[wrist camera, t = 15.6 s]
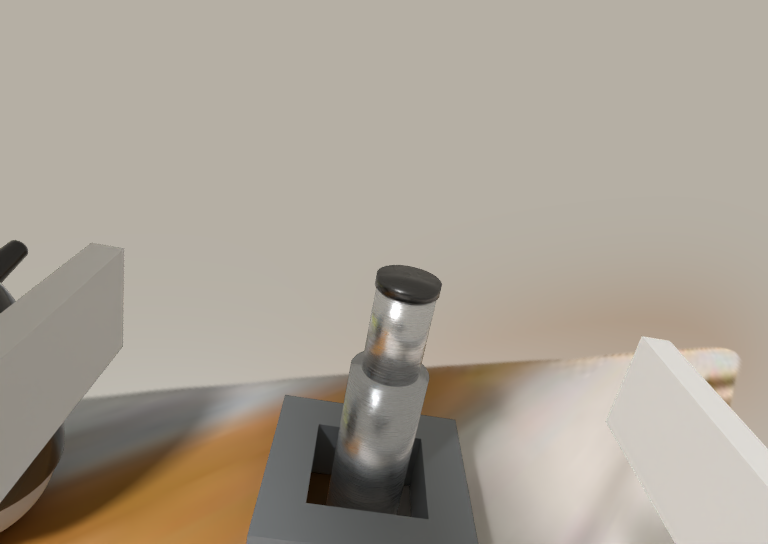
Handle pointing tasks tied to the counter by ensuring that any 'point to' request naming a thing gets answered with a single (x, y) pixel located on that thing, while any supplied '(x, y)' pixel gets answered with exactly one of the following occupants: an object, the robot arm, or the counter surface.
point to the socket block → (349, 526)
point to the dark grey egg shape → (45, 462)
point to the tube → (385, 394)
